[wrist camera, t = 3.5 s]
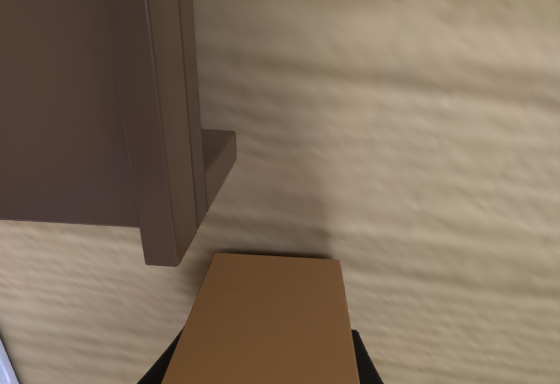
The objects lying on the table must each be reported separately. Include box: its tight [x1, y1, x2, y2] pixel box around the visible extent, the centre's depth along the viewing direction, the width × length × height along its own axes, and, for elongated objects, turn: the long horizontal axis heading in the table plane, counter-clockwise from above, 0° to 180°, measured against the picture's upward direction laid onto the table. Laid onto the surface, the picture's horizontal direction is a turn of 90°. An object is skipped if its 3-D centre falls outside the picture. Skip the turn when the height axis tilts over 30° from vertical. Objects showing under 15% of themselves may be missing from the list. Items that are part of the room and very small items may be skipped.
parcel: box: [161, 253, 360, 384], centre depth 11 cm, size 4×6×6 cm
